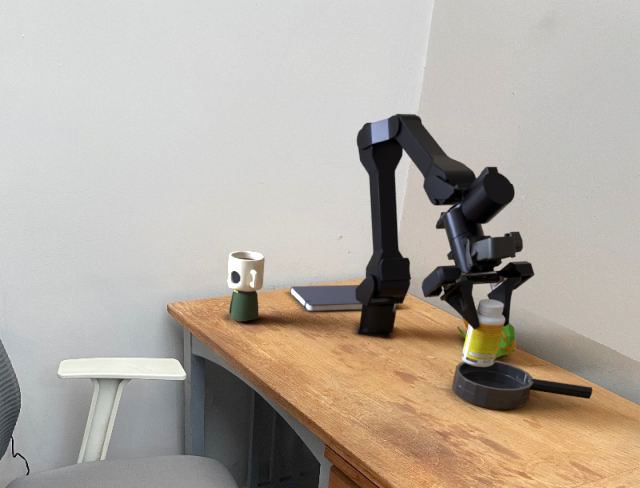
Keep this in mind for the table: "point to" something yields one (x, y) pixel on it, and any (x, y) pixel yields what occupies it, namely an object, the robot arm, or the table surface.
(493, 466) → the table surface
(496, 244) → the robot arm
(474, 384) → the skillet
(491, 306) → the supplement bottle
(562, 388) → the skillet handle
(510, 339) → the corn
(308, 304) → the notebook
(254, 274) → the character mug
